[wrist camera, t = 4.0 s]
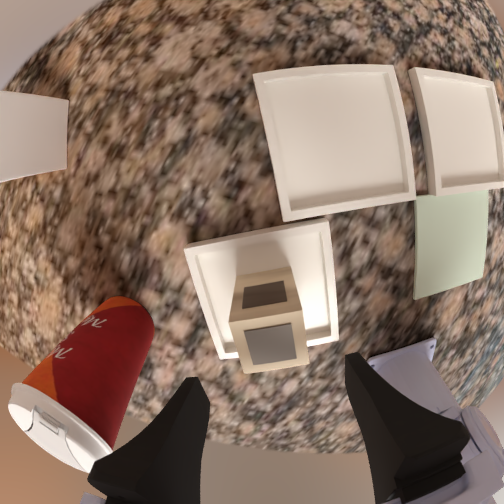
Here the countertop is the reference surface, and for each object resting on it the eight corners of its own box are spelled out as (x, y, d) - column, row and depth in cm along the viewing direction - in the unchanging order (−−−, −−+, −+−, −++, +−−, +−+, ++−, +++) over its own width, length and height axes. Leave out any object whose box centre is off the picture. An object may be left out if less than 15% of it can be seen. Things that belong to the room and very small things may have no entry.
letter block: (297, 312, 21) (309, 364, 15) (247, 321, 21) (244, 374, 16) (290, 265, 20) (302, 309, 14) (236, 275, 20) (227, 322, 14)
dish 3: (499, 185, 17) (507, 187, 16) (428, 194, 18) (436, 196, 17) (485, 83, 14) (493, 81, 13) (407, 70, 15) (414, 67, 14)
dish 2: (335, 331, 22) (338, 339, 21) (221, 350, 23) (220, 359, 22) (324, 217, 19) (328, 221, 18) (187, 243, 20) (183, 249, 19)
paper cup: (101, 268, 21) (-9, 374, 7) (178, 313, 22) (116, 460, 9) (86, 329, 23) (12, 428, 10) (151, 367, 24) (103, 486, 11)
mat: (480, 275, 20) (482, 277, 20) (412, 297, 21) (414, 300, 21) (485, 186, 17) (488, 187, 17) (413, 196, 18) (416, 196, 18)
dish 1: (408, 196, 18) (416, 199, 17) (282, 218, 19) (283, 222, 18) (386, 69, 15) (393, 65, 14) (252, 79, 16) (252, 74, 15)
